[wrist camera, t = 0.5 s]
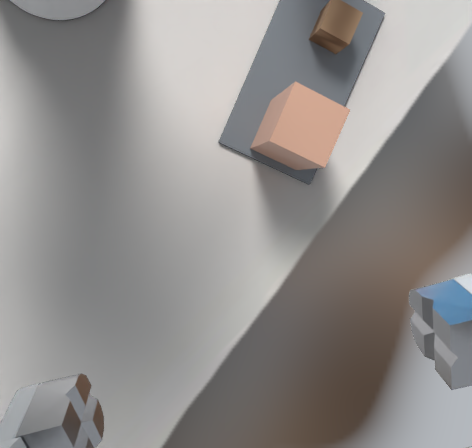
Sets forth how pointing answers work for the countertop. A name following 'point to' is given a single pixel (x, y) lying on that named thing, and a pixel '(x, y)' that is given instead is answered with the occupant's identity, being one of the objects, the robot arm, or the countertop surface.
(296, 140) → the tan rectangular block
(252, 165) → the countertop surface
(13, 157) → the countertop surface
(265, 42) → the mat
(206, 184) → the countertop surface
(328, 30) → the block
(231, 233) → the countertop surface
